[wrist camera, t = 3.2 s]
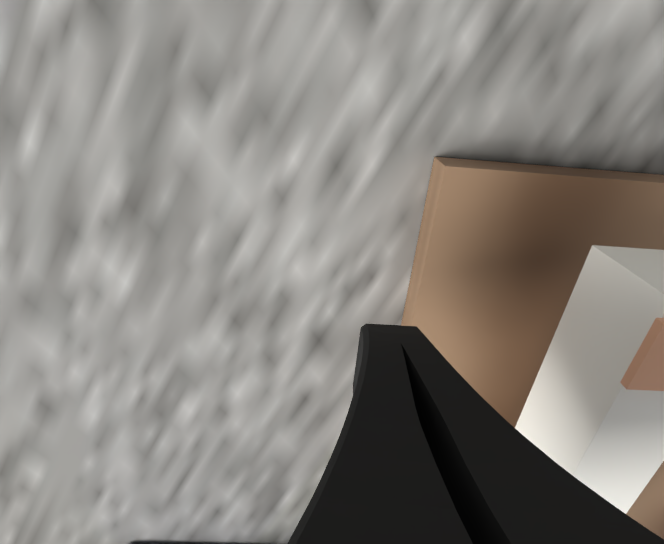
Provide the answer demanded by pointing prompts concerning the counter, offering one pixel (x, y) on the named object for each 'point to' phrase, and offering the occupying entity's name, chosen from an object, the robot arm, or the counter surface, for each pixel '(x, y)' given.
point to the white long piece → (605, 377)
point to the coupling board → (521, 270)
